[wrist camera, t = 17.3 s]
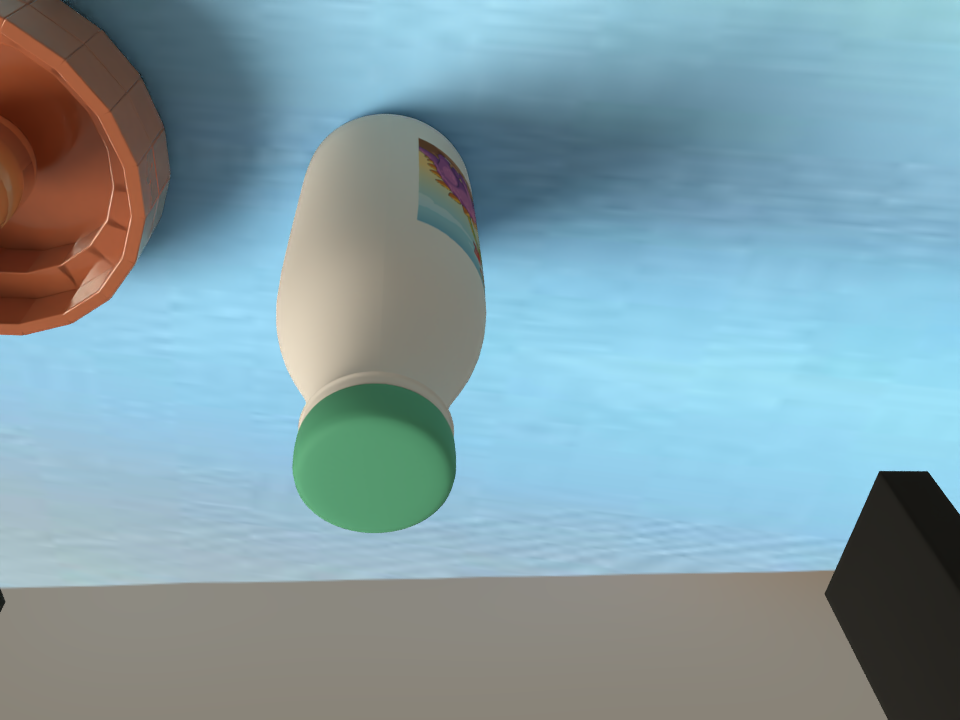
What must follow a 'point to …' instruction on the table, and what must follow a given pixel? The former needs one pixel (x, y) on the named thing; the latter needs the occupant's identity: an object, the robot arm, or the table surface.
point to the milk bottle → (380, 321)
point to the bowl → (75, 166)
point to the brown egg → (15, 169)
